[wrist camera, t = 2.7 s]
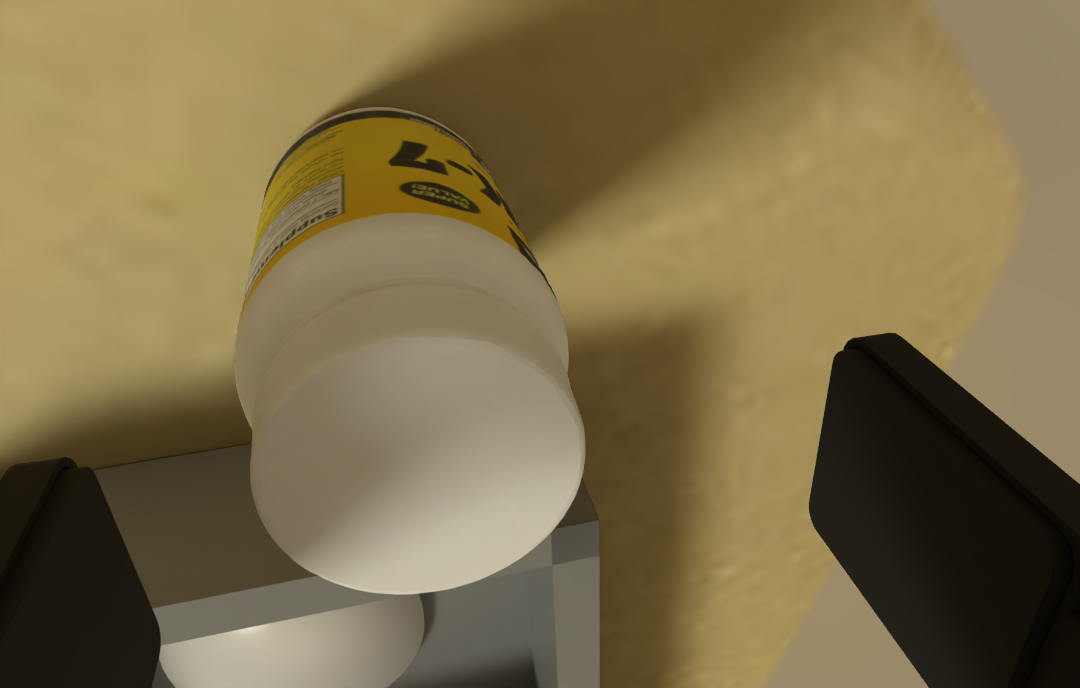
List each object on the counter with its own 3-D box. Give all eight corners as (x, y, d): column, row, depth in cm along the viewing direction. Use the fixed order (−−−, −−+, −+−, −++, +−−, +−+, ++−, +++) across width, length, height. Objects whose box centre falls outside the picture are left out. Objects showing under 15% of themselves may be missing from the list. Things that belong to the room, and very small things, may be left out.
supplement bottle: (542, 213, 17) (692, 456, 10) (391, 356, 18) (434, 668, 11) (374, 45, 15) (421, 214, 8) (210, 221, 16) (117, 513, 9)
